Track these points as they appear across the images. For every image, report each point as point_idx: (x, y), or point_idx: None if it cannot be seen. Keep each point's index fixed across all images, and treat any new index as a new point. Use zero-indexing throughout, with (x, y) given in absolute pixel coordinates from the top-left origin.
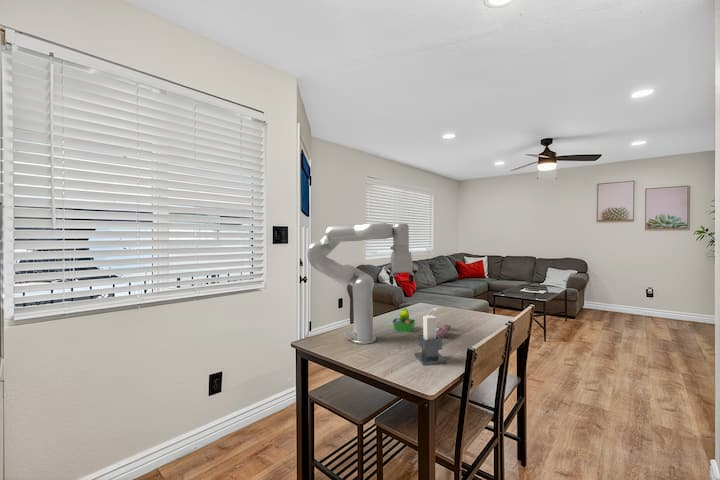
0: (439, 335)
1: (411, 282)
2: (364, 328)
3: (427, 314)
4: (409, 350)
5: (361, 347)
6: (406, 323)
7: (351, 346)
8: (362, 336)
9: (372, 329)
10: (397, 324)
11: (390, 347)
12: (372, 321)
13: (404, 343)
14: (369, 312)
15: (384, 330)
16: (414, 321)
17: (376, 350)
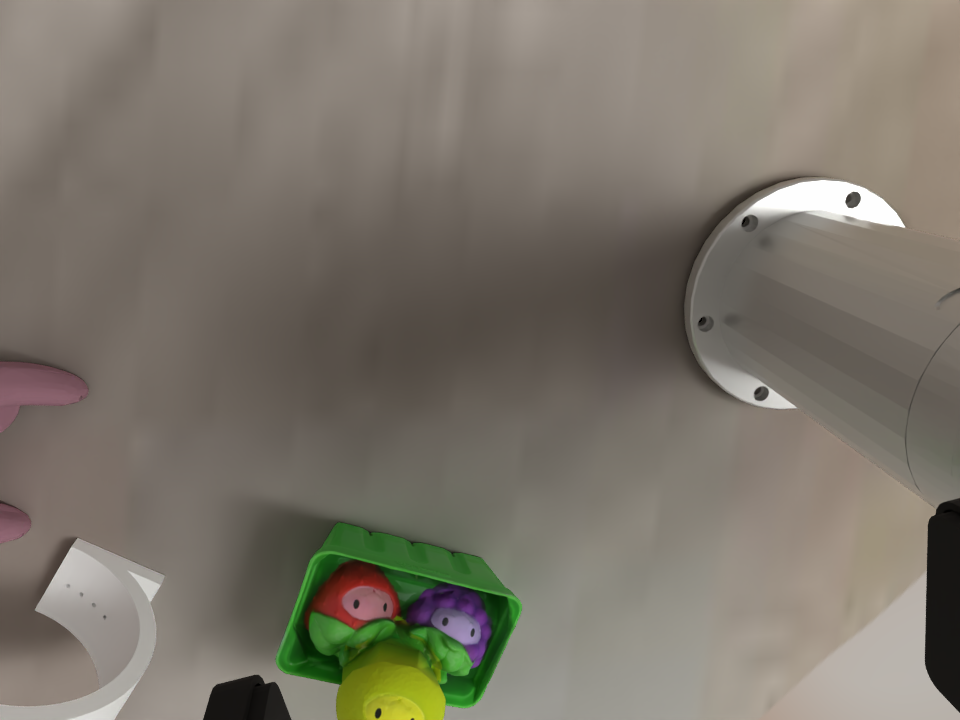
0: (42, 368)
1: (246, 712)
2: (883, 230)
3: (112, 693)
4: (395, 3)
5: (836, 96)
6: (378, 560)
7: (918, 124)
8: (850, 216)
9: (769, 300)
10: (467, 577)
11: (573, 93)
12: (816, 326)
13: (426, 206)
14: (950, 304)
15: (578, 546)
16: (285, 631)
17: (713, 11)
